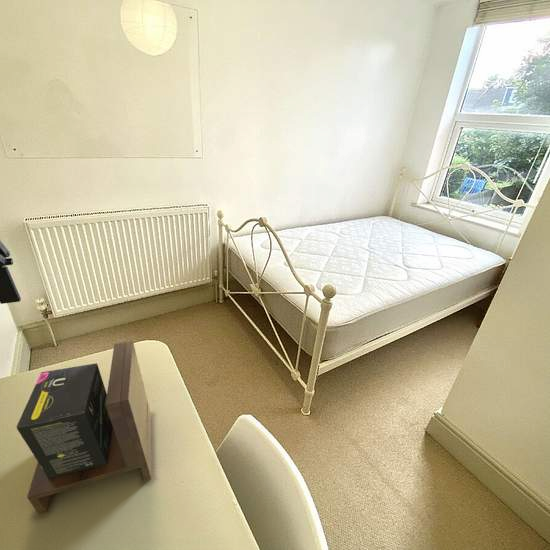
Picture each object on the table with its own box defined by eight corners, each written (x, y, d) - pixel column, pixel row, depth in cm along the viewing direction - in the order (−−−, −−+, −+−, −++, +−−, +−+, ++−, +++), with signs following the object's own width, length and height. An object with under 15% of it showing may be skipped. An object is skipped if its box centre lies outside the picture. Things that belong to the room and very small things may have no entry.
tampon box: (63, 424, 61) (38, 371, 53) (115, 413, 63) (97, 361, 56) (45, 482, 51) (12, 427, 44) (106, 466, 54) (84, 411, 47)
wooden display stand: (39, 515, 52) (-18, 433, 41) (59, 440, 64) (19, 360, 53) (151, 480, 58) (128, 399, 47) (151, 417, 69) (132, 340, 58)
